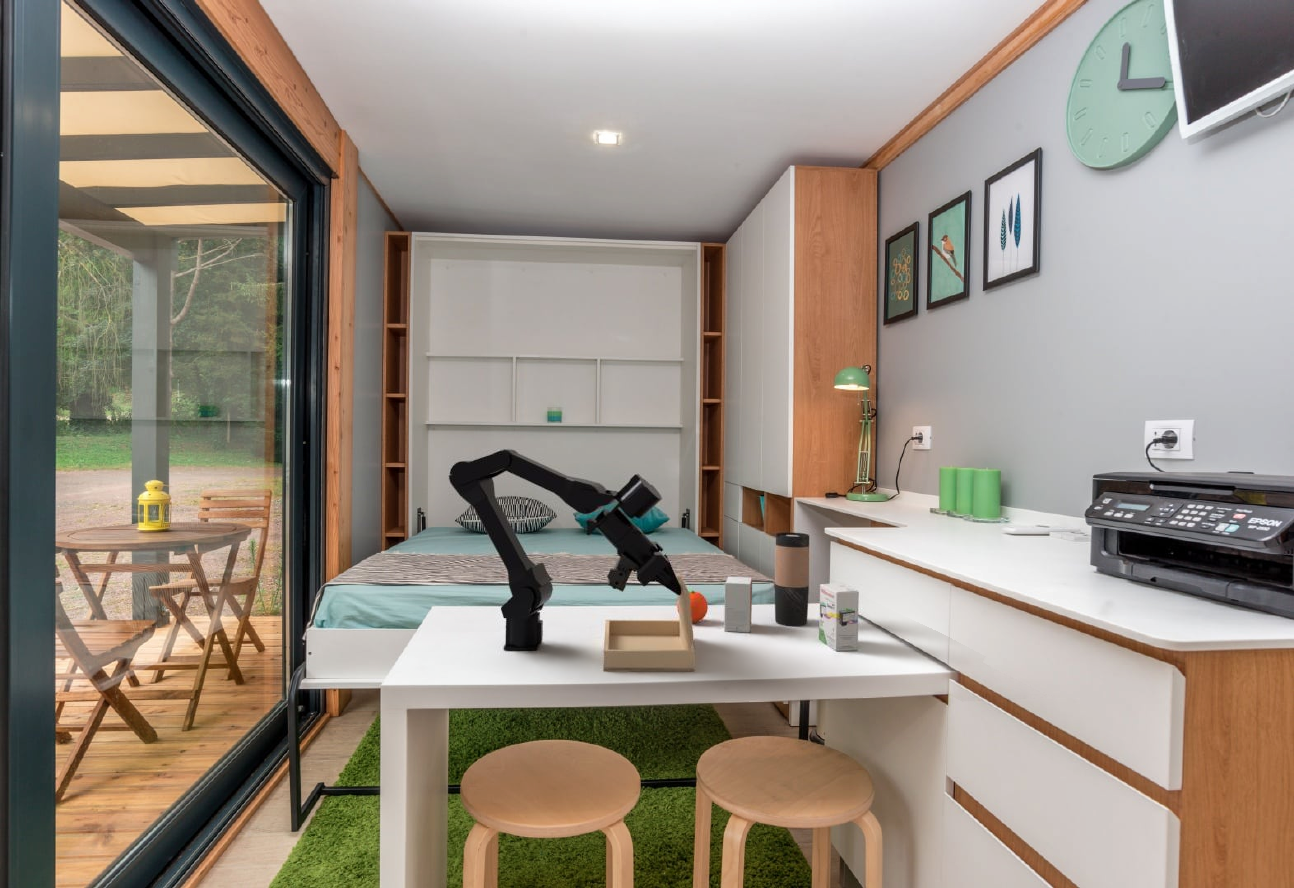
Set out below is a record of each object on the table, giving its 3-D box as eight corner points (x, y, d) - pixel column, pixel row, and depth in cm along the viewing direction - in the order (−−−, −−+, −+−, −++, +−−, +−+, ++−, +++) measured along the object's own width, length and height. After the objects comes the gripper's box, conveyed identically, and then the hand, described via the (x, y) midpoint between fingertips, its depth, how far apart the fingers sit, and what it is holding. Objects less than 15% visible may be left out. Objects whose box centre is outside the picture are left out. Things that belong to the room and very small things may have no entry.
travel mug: (812, 621, 160) (814, 534, 160) (801, 628, 154) (803, 537, 154) (781, 616, 164) (782, 531, 164) (768, 623, 158) (770, 534, 158)
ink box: (817, 639, 145) (818, 582, 145) (840, 638, 146) (841, 582, 146) (835, 651, 137) (836, 591, 137) (859, 650, 137) (860, 590, 138)
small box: (750, 633, 149) (750, 583, 149) (723, 631, 150) (724, 582, 150) (751, 624, 157) (752, 577, 157) (726, 622, 158) (727, 575, 158)
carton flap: (689, 644, 124) (685, 594, 124) (679, 617, 144) (675, 573, 144) (694, 644, 124) (689, 593, 124) (683, 617, 144) (679, 573, 144)
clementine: (666, 621, 158) (667, 589, 158) (685, 615, 163) (685, 585, 163) (695, 627, 153) (696, 595, 153) (713, 621, 158) (714, 590, 158)
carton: (603, 670, 122) (603, 650, 122) (605, 636, 144) (605, 619, 144) (694, 671, 123) (694, 651, 123) (682, 637, 145) (682, 620, 145)
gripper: (595, 557, 142) (648, 611, 142) (591, 573, 123) (653, 636, 124) (634, 518, 142) (687, 573, 143) (636, 529, 124) (698, 592, 124)
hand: (680, 593), depth 133 cm, fingers closed, pressing on carton flap
